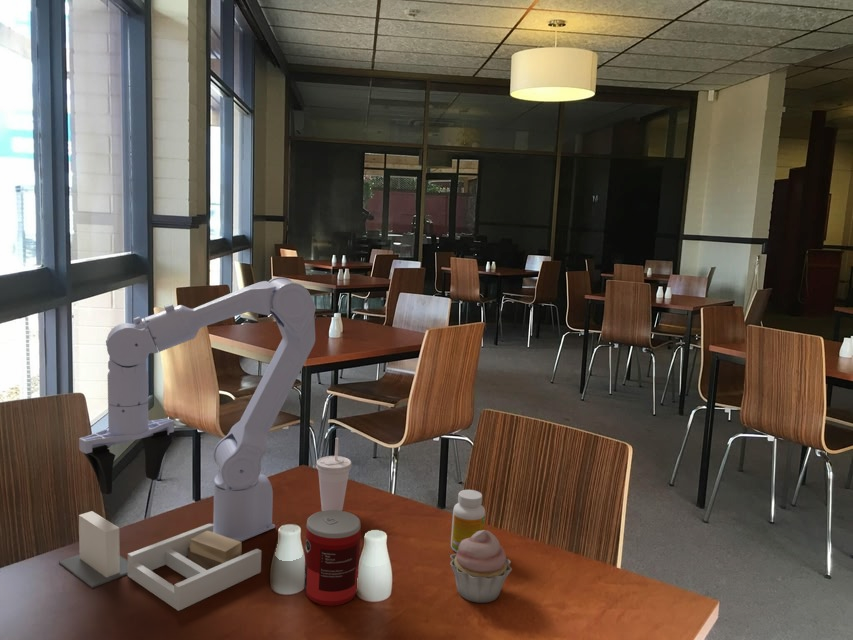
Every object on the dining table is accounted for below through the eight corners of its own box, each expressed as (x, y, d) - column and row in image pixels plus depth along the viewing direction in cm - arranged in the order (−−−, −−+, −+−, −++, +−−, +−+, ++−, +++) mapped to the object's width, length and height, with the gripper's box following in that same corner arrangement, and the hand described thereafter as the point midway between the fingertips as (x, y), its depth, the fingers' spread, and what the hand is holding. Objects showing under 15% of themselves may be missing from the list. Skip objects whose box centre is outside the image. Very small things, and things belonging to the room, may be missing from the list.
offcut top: (207, 542, 108) (207, 530, 107) (241, 554, 104) (241, 542, 104) (190, 551, 104) (190, 539, 104) (225, 564, 101) (225, 551, 101)
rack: (209, 543, 111) (209, 523, 111) (260, 572, 104) (261, 550, 103) (127, 576, 100) (127, 553, 100) (178, 611, 93) (178, 587, 92)
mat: (104, 546, 108) (104, 545, 108) (138, 569, 102) (138, 567, 102) (59, 563, 103) (59, 561, 103) (92, 588, 97) (92, 586, 97)
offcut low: (207, 554, 109) (207, 539, 108) (244, 574, 104) (244, 559, 103) (188, 562, 106) (188, 547, 106) (225, 583, 101) (225, 567, 100)
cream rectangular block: (92, 553, 105) (92, 511, 104) (119, 572, 101) (119, 527, 100) (79, 558, 104) (78, 515, 103) (106, 577, 99) (105, 532, 98)
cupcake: (455, 612, 96) (460, 546, 95) (441, 577, 106) (445, 516, 104) (518, 608, 98) (524, 543, 97) (499, 574, 107) (504, 514, 106)
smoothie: (356, 510, 127) (359, 438, 125) (334, 522, 122) (337, 447, 119) (329, 501, 130) (332, 430, 128) (307, 512, 125) (309, 439, 123)
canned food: (326, 572, 105) (329, 504, 103) (368, 589, 101) (372, 519, 99) (292, 594, 98) (294, 522, 97) (335, 613, 94) (339, 539, 93)
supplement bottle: (485, 556, 113) (490, 500, 111) (453, 556, 112) (457, 501, 111) (478, 540, 118) (482, 487, 117) (447, 541, 117) (451, 487, 116)
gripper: (156, 388, 113) (157, 466, 116) (67, 405, 102) (70, 491, 104) (181, 397, 109) (181, 477, 111) (92, 415, 98) (93, 504, 100)
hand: (129, 485), depth 107 cm, fingers open, 7 cm apart
